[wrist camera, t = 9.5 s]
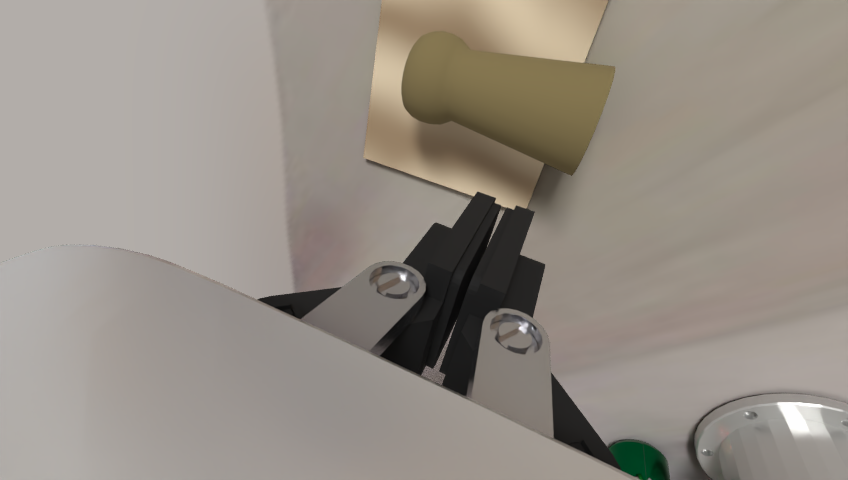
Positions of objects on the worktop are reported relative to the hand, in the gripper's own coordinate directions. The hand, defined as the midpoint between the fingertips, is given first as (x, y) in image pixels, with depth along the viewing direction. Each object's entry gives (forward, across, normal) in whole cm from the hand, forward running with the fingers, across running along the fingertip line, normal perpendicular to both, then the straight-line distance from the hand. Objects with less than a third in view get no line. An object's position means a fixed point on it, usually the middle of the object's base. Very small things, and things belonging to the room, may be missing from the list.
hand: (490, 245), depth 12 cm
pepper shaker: (+15, -2, -1) cm, 15 cm away
